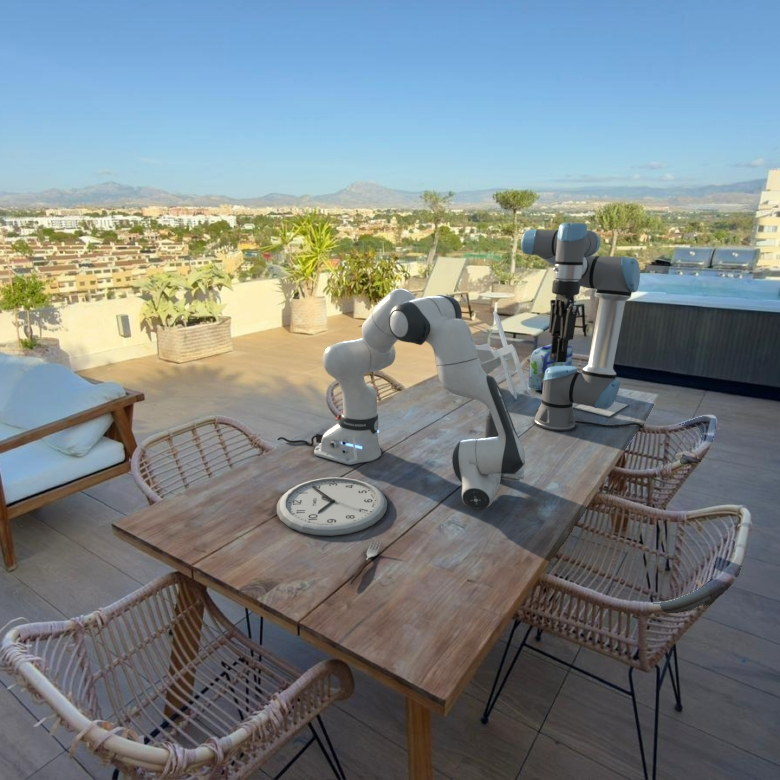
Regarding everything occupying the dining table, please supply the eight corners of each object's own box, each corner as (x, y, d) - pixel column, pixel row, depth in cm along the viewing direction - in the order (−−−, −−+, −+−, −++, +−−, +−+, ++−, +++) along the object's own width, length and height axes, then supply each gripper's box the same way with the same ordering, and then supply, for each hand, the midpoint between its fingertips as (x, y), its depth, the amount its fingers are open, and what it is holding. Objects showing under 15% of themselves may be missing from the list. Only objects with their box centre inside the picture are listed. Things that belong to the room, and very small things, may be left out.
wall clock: (392, 527, 129) (268, 531, 127) (391, 533, 130) (269, 537, 127) (383, 473, 158) (282, 475, 155) (383, 478, 158) (282, 480, 156)
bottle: (479, 471, 164) (485, 396, 157) (497, 470, 165) (503, 395, 157) (485, 479, 159) (491, 402, 151) (503, 478, 160) (509, 401, 152)
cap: (554, 361, 153) (554, 355, 153) (548, 358, 157) (549, 352, 156) (566, 361, 154) (567, 355, 153) (560, 357, 157) (561, 352, 157)
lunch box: (544, 395, 239) (549, 351, 233) (524, 390, 247) (528, 347, 240) (571, 384, 257) (577, 343, 251) (552, 380, 264) (556, 339, 258)
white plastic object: (461, 429, 252) (437, 405, 227) (444, 352, 274) (420, 323, 250) (535, 404, 240) (518, 377, 215) (510, 326, 262) (492, 293, 237)
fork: (344, 585, 111) (344, 577, 110) (372, 544, 125) (372, 537, 125) (355, 588, 110) (355, 580, 109) (382, 546, 124) (382, 539, 124)
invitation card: (608, 416, 214) (573, 407, 224) (608, 416, 214) (573, 408, 224) (628, 404, 229) (594, 396, 238) (628, 405, 229) (594, 397, 238)
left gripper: (524, 469, 144) (528, 450, 157) (451, 458, 150) (461, 441, 163) (522, 490, 146) (526, 469, 159) (450, 478, 152) (460, 459, 165)
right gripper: (542, 277, 156) (534, 353, 163) (567, 283, 140) (557, 367, 147) (566, 277, 157) (557, 353, 164) (594, 283, 141) (583, 367, 148)
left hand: (493, 455), depth 161 cm, fingers closed on bottle, 5 cm apart
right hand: (557, 359), depth 155 cm, fingers closed on cap, 4 cm apart
